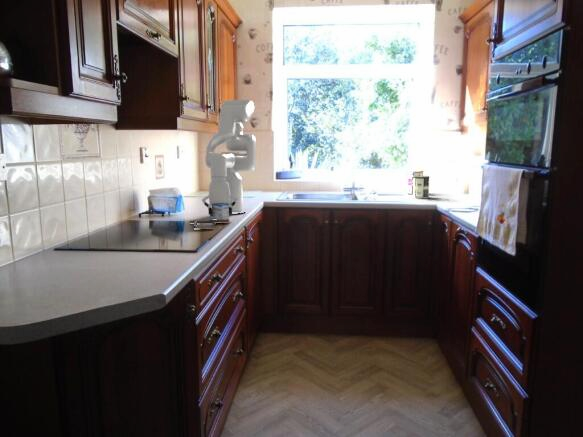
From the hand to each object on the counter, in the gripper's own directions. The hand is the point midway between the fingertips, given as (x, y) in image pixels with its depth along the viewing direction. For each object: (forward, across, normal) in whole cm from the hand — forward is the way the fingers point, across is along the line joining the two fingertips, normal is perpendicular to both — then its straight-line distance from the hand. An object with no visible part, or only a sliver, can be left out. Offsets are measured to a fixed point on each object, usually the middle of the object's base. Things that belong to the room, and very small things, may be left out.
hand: (220, 215), depth 217 cm
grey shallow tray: (+3, +7, +15) cm, 17 cm away
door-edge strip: (+3, +5, +7) cm, 9 cm away
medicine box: (+3, 0, 0) cm, 3 cm away
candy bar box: (+3, -135, -85) cm, 160 cm away
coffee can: (+3, -130, -64) cm, 145 cm away
